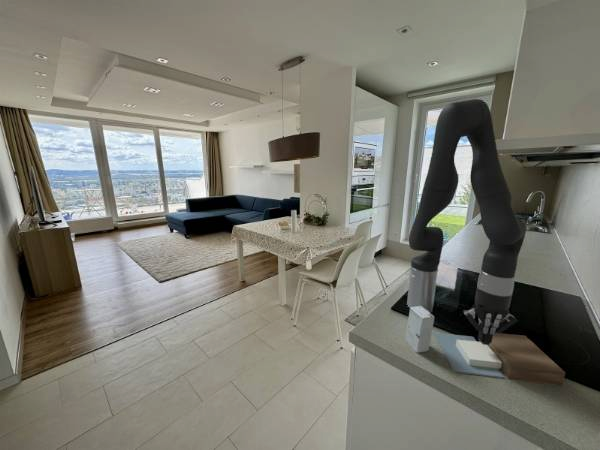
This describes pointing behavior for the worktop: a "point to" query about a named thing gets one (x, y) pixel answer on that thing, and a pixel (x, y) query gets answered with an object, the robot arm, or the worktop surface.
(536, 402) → the worktop surface
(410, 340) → the skincare box
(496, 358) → the coaster
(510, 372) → the stand
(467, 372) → the mat
